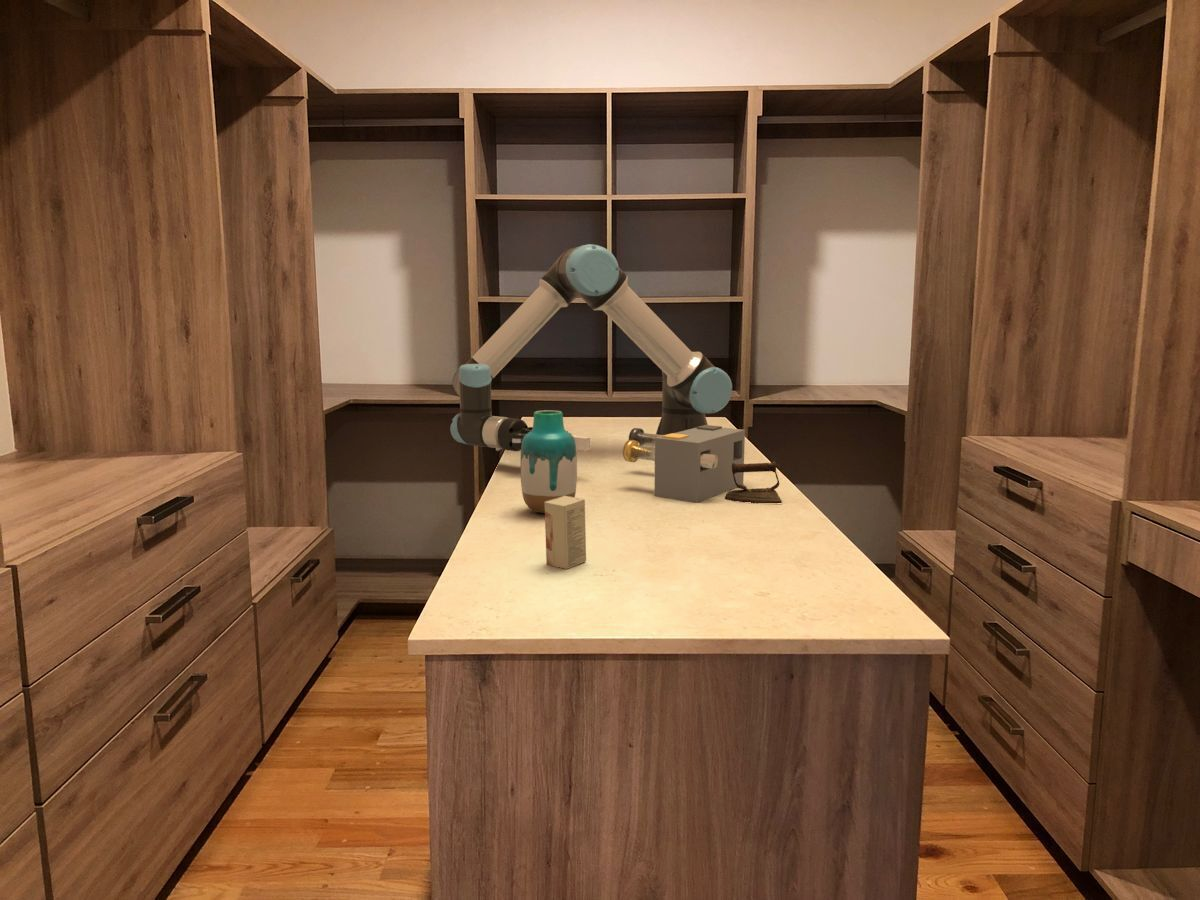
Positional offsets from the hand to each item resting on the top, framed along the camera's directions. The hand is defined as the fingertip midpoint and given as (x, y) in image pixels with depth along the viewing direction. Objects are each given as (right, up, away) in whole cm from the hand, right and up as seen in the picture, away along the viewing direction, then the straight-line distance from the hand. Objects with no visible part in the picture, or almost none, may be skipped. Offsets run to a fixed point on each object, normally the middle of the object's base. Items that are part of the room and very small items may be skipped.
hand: (587, 444), depth 193 cm
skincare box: (-3, -19, -56) cm, 59 cm away
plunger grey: (+19, -2, +4) cm, 19 cm away
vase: (-7, -13, -25) cm, 29 cm away
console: (+24, -10, -7) cm, 27 cm away
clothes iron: (+33, -12, -15) cm, 38 cm away
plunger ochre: (+17, -5, -12) cm, 21 cm away
